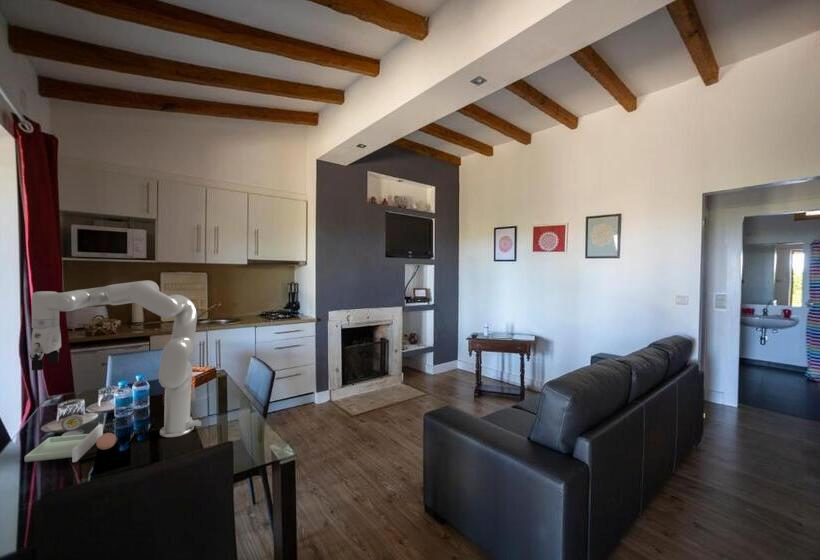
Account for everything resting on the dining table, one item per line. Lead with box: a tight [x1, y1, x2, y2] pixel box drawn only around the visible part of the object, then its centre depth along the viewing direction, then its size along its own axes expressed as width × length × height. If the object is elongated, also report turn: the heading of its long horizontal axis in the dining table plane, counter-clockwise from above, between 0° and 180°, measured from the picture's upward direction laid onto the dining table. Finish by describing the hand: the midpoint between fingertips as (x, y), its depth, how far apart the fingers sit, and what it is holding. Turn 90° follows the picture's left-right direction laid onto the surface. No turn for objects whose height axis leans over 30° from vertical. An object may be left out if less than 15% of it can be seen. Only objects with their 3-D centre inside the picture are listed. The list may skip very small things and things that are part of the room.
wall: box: [71, 423, 104, 463], centre depth 139 cm, size 1×20×5 cm, turn 20°
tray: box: [24, 433, 89, 463], centre depth 137 cm, size 14×14×2 cm
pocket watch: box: [61, 408, 84, 436], centre depth 148 cm, size 8×8×10 cm
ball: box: [95, 432, 117, 451], centre depth 139 cm, size 6×6×6 cm
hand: (45, 366), depth 139 cm, fingers open, 9 cm apart
